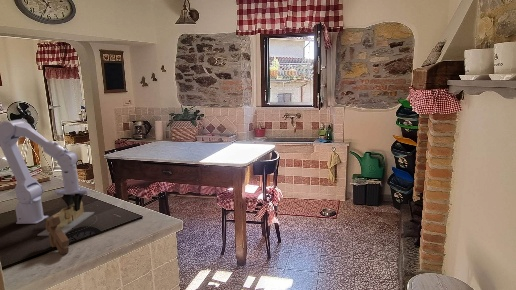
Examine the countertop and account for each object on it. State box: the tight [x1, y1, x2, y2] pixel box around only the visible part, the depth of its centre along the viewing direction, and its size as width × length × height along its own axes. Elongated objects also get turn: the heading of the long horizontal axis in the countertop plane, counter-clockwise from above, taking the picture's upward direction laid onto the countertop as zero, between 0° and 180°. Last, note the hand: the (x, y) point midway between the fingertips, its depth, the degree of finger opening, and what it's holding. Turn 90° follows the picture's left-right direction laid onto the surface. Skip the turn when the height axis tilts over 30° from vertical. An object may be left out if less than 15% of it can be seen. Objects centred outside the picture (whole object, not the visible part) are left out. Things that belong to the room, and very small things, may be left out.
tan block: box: [60, 200, 85, 221], centre depth 151 cm, size 12×4×6 cm, turn 176°
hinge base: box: [52, 211, 72, 229], centre depth 143 cm, size 11×3×6 cm, turn 176°
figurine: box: [45, 215, 70, 256], centre depth 123 cm, size 13×2×15 cm
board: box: [37, 211, 95, 237], centre depth 148 cm, size 24×10×1 cm, turn 176°
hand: (74, 210), depth 152 cm, fingers closed on tan block, 2 cm apart
